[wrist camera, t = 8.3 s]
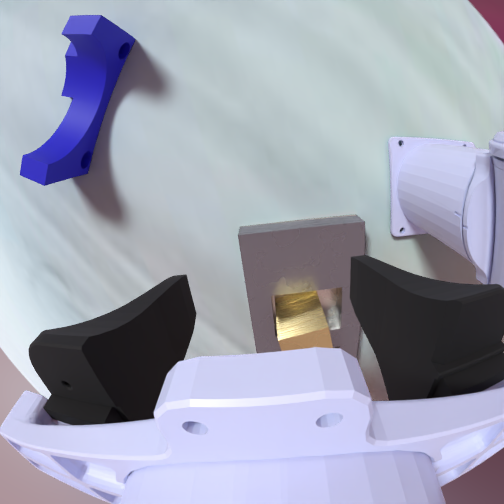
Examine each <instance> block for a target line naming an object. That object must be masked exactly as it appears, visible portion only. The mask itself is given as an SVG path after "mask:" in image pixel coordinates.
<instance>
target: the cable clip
mask: <svg viewBox="0 0 504 504" xmlns="http://www.w3.org/2000/svg"><path fill="white" fill-rule="evenodd" d="M62 35H64V36H66V37H67V38H68V39H69V40H70V41H71V43H70V46H69V48H68V50H67V52H66V55H65V58H66V78H65V84H64V88H63V92H62V95H61V96H66V97H72V98H73V100H72V102H71V105H70V107H69V110H68V112H67V114H66V116H65V118H64V119H63V121H62V123H61V124H60V126H59V127H58V129H57V130H56V132H55V133H54V134H53V135H52V136H51V138H50V139H49V140H48V141H47V142H46V143H45V144H43V145H42V146H41V147H40V148H38V149H37V150H35V151H33V152H31V153H29V154H25V155H23V158H22V164H21V170H20V175H21V176H23V177H26V178H28V179H30V180H32V181H35V182H37V183H39V184H42V185H44V186H45V185H49V184H52V183H55V182H59V181H62V180H66V179H69V178H73V177H77V176H80V175H84V174H88V171H89V167H90V163H91V159H92V155H93V151H94V147H95V144H96V140H97V137H98V133H99V130H100V127H101V124H102V121H103V118H104V115H105V112H106V109H107V106H108V103H109V100H110V98H111V95H112V92H113V90H114V87H115V84H116V82H117V79H118V77H119V75H120V72H121V70H122V68H123V65H124V63H125V61H126V59H127V56H128V54H129V52H130V50H131V48H132V46H133V44H134V42H135V40H136V39H135V38H133V37H132V36H131V35H129V34H128V33H127V32H125V31H124V30H122V29H121V28H119V27H118V26H117V25H115V24H114V23H112V22H111V21H109V20H108V19H106V18H105V17H103V16H102V15H78V16H70V18H69V20H68V22H67V24H66V26H65V28H64V30H63V32H62Z"/></svg>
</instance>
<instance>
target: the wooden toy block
mask: <svg viewBox="0 0 504 504" xmlns="http://www.w3.org/2000/svg"><path fill="white" fill-rule="evenodd" d="M275 309H276V321H277V334H278V342H279V345H280V348H281V350H282V351H288V350H297V349H305V348H313V347H321V348H333V346H332V341H331V336H330V331H329V326H328V323H327V320H326V317H325V314H324V312H323V309H322V306H321V303H320V300H319V297H318V294H317V291H309V292H300V293H294V294H291V295H287V296H284V297H280V298H276V299H275Z"/></svg>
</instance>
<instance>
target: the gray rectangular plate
mask: <svg viewBox="0 0 504 504" xmlns="http://www.w3.org/2000/svg"><path fill="white" fill-rule="evenodd" d="M238 238H239V245H240V251H241V258H242V264H243V270H244V277H245V283H246V290H247V296H248V302H249V308H250V315H251V321H252V327H253V333H254V339H255V345H256V351H257V353H268V352H278V351H282V350H281V348H280V345H279V342H278V334H277V321H276V309H275V299H276V298H280V297H284V296H287V295H291V294H294V293H300V292H309V291H317V294H318V297H319V300H320V303H321V306H322V309H323V312H324V314H325V317H326V320H327V323H328V326H329V331H330V336H331V341H332V346H333V348H340V349H342V350H344V351H345V352H347V353H348V354H350V355H352V356H353V357H355V358H356V357H357V350H358V341H359V332H360V323H359V321H358V319H357V317H356V315H355V312H354V309H353V306H352V303H351V300H350V269H351V257H352V256H361V255H365V221H363V220H362V219H361V218H360V217H358V216H357V215H345V216H334V217H324V218H314V219H304V220H295V221H285V222H276V223H267V224H258V225H250V226H241V227H240V229H239V233H238Z"/></svg>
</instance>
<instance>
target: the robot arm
mask: <svg viewBox="0 0 504 504" xmlns="http://www.w3.org/2000/svg"><path fill="white" fill-rule="evenodd" d="M399 140H400V141H401V142H402V145H401V146H399V144H398V142H399ZM463 145H464V146H463ZM388 147H389V162H390V186H391V227H390V231H391V234H392V235H393V236H395V237H399V236H408V235H417V234H426V233H429V234H430V235H432V236H433V237H435V238H436V239H438V240H439V241H441V242H442V243H444V244H445V245H447V246H448V247H450V248H451V249H453V250H454V251H456V252H457V253H459V254H460V255H461V256H463V257H464V258H466V259H467V260H468V261H470V262H471V263H473V264H474V266H475V269H476V279H477V280H479V281H480V282H481V283H482V284H480V285H473V284H459V283H450V282H444V281H439V280H434V279H430V278H426V277H422V276H419V275H415V274H412V273H410V272H407V271H404V270H401V269H399V268H396V267H394V266H391V265H389V264H387V263H384V262H382V261H379V260H377V259H375V258H372V257H369V256H366V255H361V256H352V257H351V269H350V300H351V303H352V306H353V309H354V312H355V315H356V317H357V319H358V321H359V323H360V325H361V327H362V329H363V330H364V332H365V334H366V336H367V338H368V340H369V342H370V344H371V346H372V348H373V350H374V353H375V355H376V357H377V360H378V363H379V366H380V369H381V372H382V376H383V379H384V383H385V386H386V390H387V394H388V398H389V401H372V399H371V396H370V393H369V390H368V387H367V385H366V382H365V379H364V376H363V374H362V371H361V368H360V366H359V363H358V361H357V359H356V358H355V357H353V356H352V355H350V354H348V353H347V352H345V351H344V350H342V349H340V348H321V347H313V348H305V349H297V350H288V351H278V352H268V353H256V354H242V355H225V356H200V357H196V358H192V359H188V360H184V358H185V355H186V352H187V349H188V346H189V343H190V340H191V337H192V334H193V330H194V325H195V319H196V310H195V307H194V303H193V299H192V295H191V291H190V287H189V283H188V279H187V275H177V276H172V277H170V278H168V279H166V280H164V281H163V282H161V283H160V284H158V285H157V286H155V287H153V288H152V289H150V290H149V291H147V292H146V293H144V294H143V295H141V296H139V297H138V298H136V299H134V300H133V301H131V302H129V303H128V304H126V305H124V306H122V307H120V308H118V309H116V310H114V311H112V312H110V313H107V314H105V315H102V316H100V317H97V318H94V319H92V320H89V321H86V322H83V323H79V324H75V325H71V326H67V327H62V328H56V329H51V330H44V331H43V332H41V333H40V335H39V336H38V337H37V338H36V339H35V340H34V341H33V342H32V344H31V345H30V347H29V357H30V360H31V363H32V365H33V367H34V369H35V371H36V372H37V374H38V375H39V377H40V378H41V380H42V381H43V383H44V384H45V386H46V387H47V388H48V390H49V391H50V393H51V394H52V395H51V396H50V398H49V399H47V398H45V397H44V396H42V395H40V394H37V393H33V392H30V391H28V390H25V391H24V393H23V394H22V395H21V397H20V398H19V400H18V401H17V403H16V404H15V406H14V407H13V408H12V410H11V411H10V413H9V414H8V416H7V417H6V419H5V421H4V422H3V424H2V425H1V427H0V434H1V435H2V436H3V437H4V438H5V439H6V440H7V441H8V442H9V443H10V444H11V445H12V446H13V447H14V448H15V449H16V450H17V451H18V452H19V453H20V454H21V455H22V456H23V457H24V458H25V459H26V460H28V461H29V462H30V463H31V464H33V466H35V467H36V468H37V469H39V470H40V471H42V472H44V473H46V474H48V475H50V476H52V477H54V478H56V479H58V480H60V481H62V482H64V483H66V484H68V485H70V486H72V487H74V488H76V489H78V490H80V491H82V492H85V493H87V494H89V495H91V496H94V497H96V498H98V499H101V500H103V501H106V502H108V503H111V504H446V503H445V500H444V497H443V494H442V490H441V486H443V485H445V484H447V483H449V482H450V481H452V480H454V479H456V478H458V477H459V476H461V475H463V474H464V473H466V472H468V471H469V470H471V469H472V468H474V467H476V466H477V465H479V464H480V463H482V462H483V461H485V460H486V459H488V458H489V457H491V456H492V455H493V454H495V453H496V452H498V451H499V450H500V449H502V448H503V447H504V353H503V351H504V343H503V342H502V341H501V340H502V337H503V335H504V131H500V132H497V133H496V135H495V136H494V138H493V139H492V140H490V141H489V150H487V149H480V148H475V145H474V144H473V143H472V142H465V141H455V140H444V139H431V138H414V137H391V138H390V139H389V141H388ZM402 227H403V231H402V232H400V229H401V228H402Z"/></svg>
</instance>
